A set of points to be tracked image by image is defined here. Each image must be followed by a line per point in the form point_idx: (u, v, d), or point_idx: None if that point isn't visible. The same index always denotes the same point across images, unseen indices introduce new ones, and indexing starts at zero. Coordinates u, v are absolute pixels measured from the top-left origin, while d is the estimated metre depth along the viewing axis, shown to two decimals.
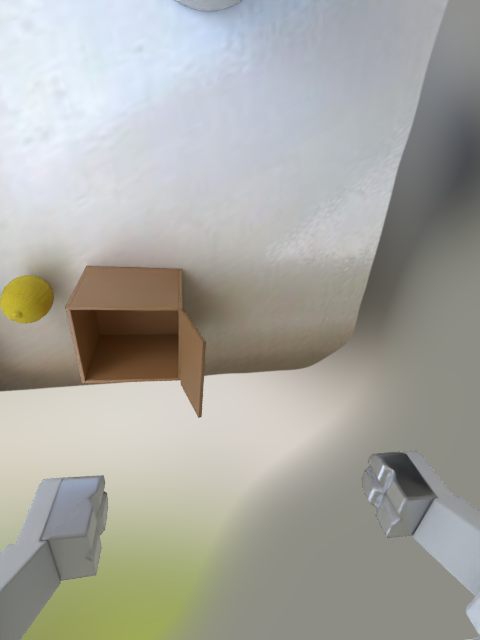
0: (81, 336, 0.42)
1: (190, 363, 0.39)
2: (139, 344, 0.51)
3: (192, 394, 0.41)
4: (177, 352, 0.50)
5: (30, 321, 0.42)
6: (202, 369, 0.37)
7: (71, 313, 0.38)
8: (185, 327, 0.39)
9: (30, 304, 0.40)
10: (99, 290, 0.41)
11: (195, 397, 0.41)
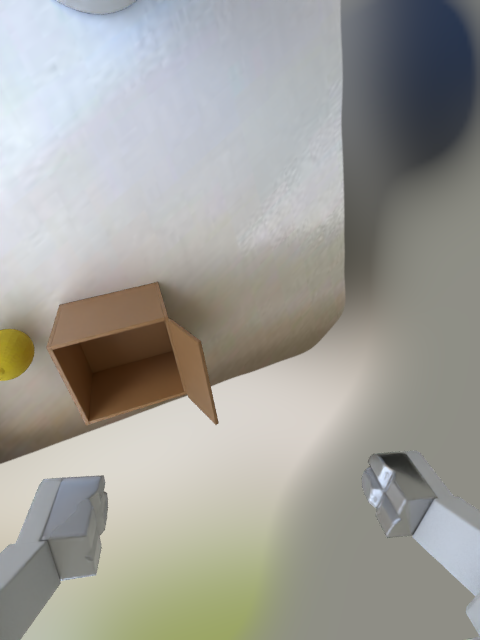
0: (72, 376, 0.39)
1: (192, 370, 0.37)
2: (136, 371, 0.48)
3: (203, 402, 0.39)
4: (176, 367, 0.48)
5: (15, 375, 0.39)
6: (205, 370, 0.35)
7: (55, 353, 0.36)
8: (176, 334, 0.37)
9: (9, 358, 0.38)
10: (78, 323, 0.39)
11: (206, 404, 0.38)
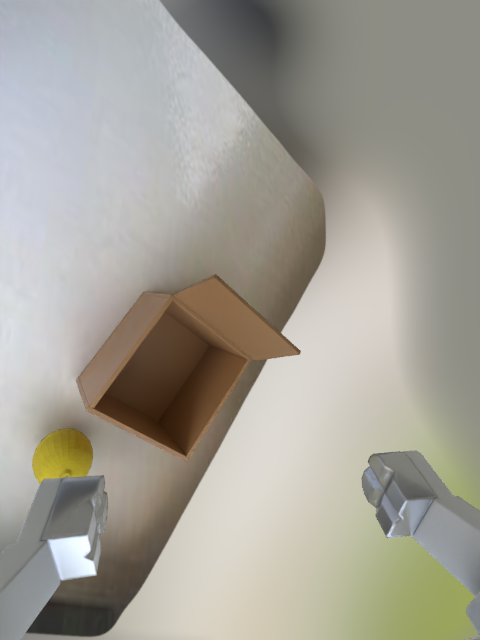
0: (136, 425, 0.34)
1: (234, 321, 0.32)
2: (192, 386, 0.42)
3: (270, 345, 0.33)
4: (224, 352, 0.42)
5: (85, 469, 0.33)
6: (245, 303, 0.29)
7: (99, 411, 0.30)
8: (192, 301, 0.31)
9: (66, 454, 0.32)
10: (100, 372, 0.33)
11: (275, 342, 0.32)
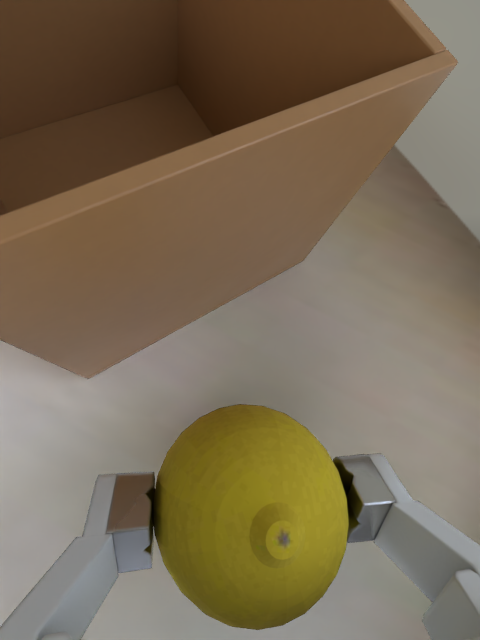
0: None
1: None
2: (239, 122, 0.16)
3: None
4: None
5: (301, 449, 0.08)
6: None
7: None
8: None
9: (202, 494, 0.07)
10: None
11: None
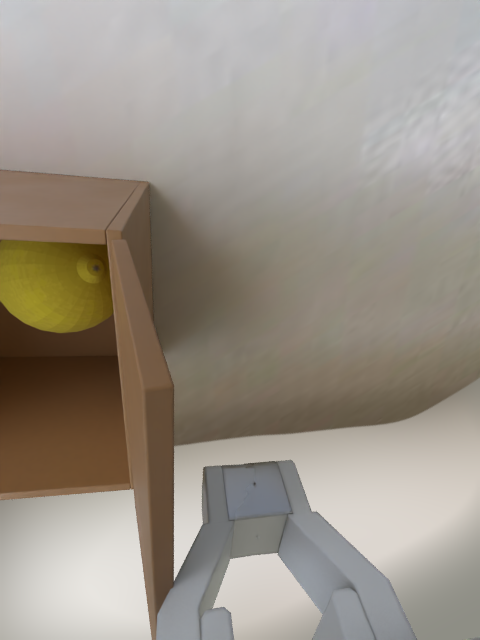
0: None
1: (135, 470, 0.09)
2: (45, 381, 0.20)
3: (146, 587, 0.10)
4: None
5: (109, 305, 0.15)
6: (164, 552, 0.06)
7: None
8: (119, 307, 0.08)
9: None
10: None
11: None
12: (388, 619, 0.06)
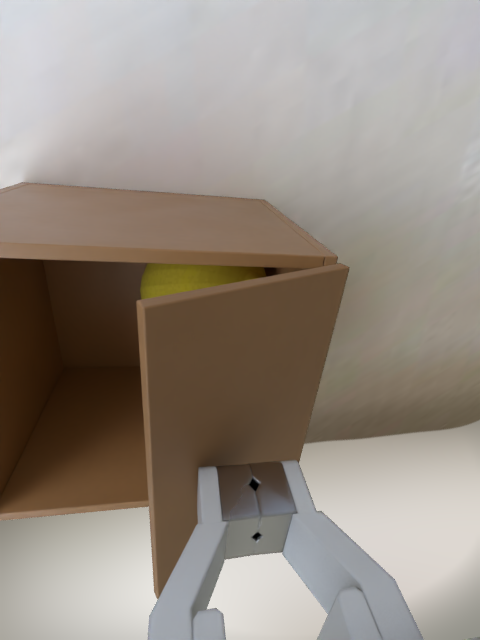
0: None
1: None
2: None
3: None
4: None
5: None
6: (147, 439, 0.08)
7: None
8: None
9: None
10: (36, 212, 0.12)
11: None
12: (394, 618, 0.07)
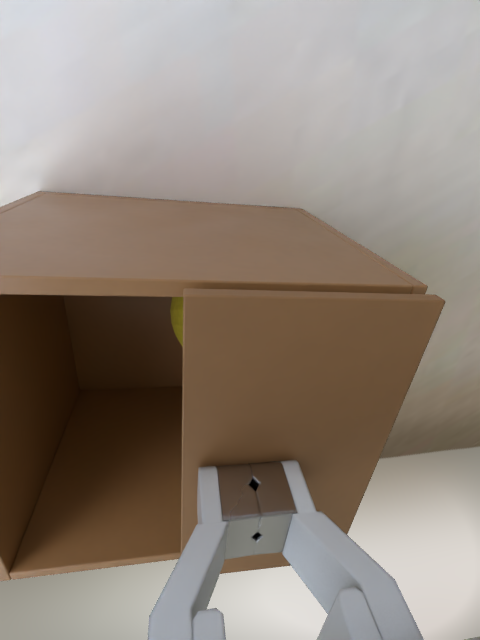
0: None
1: None
2: None
3: None
4: None
5: None
6: None
7: None
8: None
9: None
10: (62, 230, 0.10)
11: None
12: (394, 618, 0.07)
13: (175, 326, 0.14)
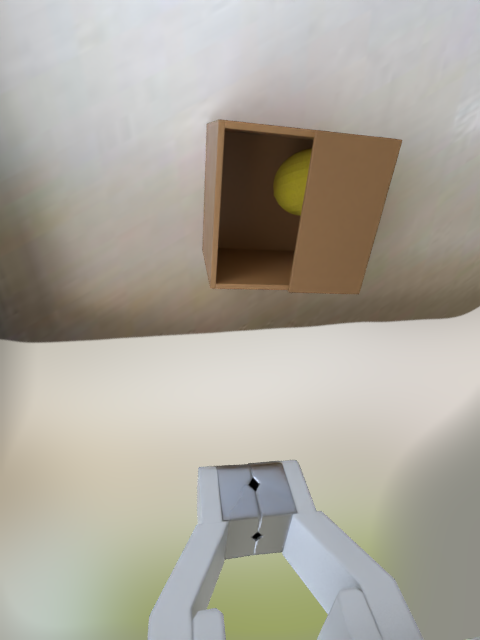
0: None
1: None
2: (268, 257, 0.35)
3: None
4: None
5: None
6: (305, 189, 0.24)
7: (224, 139, 0.22)
8: None
9: None
10: None
11: None
12: (394, 618, 0.07)
13: (280, 186, 0.30)
